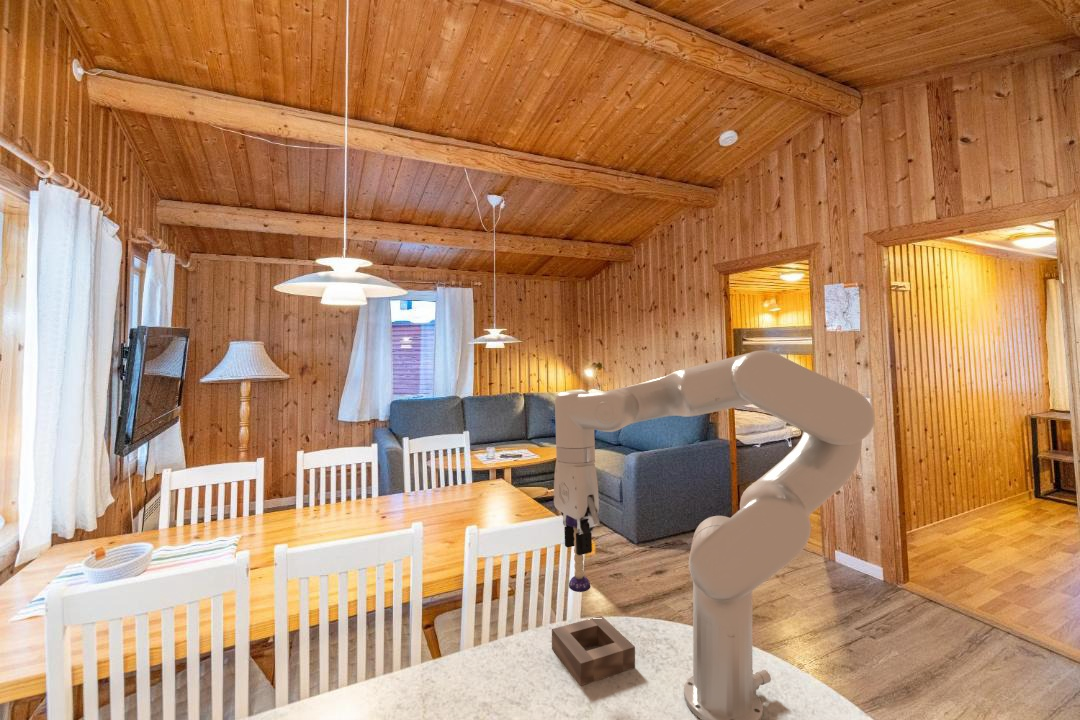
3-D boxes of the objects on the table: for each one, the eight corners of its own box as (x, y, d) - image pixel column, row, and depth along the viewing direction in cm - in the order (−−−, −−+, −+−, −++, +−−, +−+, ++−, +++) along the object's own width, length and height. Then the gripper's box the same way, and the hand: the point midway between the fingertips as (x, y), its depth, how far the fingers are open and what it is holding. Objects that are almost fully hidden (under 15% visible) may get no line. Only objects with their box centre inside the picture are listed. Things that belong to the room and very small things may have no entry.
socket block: (601, 634, 100) (601, 615, 100) (635, 667, 89) (635, 646, 89) (551, 648, 95) (551, 629, 95) (580, 685, 84) (580, 663, 84)
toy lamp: (589, 594, 87) (588, 506, 87) (565, 592, 88) (563, 505, 88) (591, 582, 92) (589, 498, 92) (567, 580, 93) (566, 498, 93)
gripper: (539, 450, 96) (541, 539, 95) (581, 464, 81) (584, 570, 81) (570, 446, 99) (573, 532, 99) (616, 459, 84) (619, 561, 84)
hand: (578, 548), depth 90 cm, fingers closed on toy lamp, 3 cm apart
